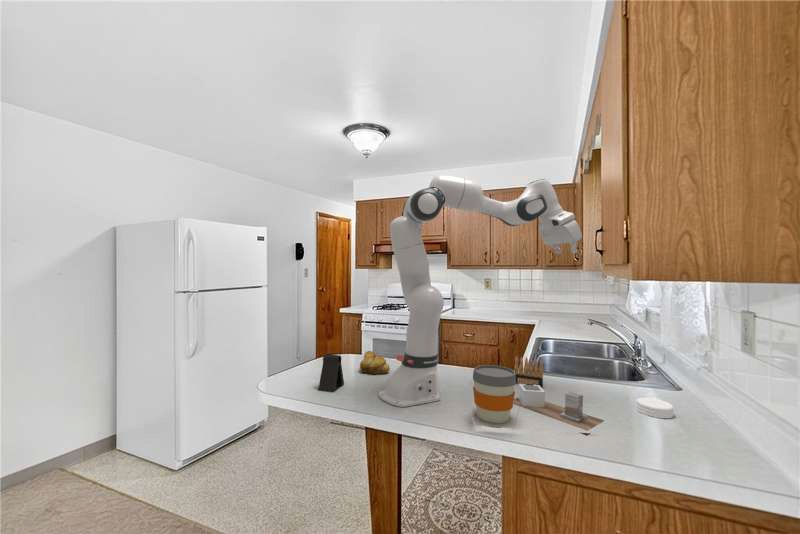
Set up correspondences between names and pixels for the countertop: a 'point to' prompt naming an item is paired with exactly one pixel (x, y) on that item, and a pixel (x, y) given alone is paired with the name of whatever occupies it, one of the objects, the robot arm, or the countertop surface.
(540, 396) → the white block
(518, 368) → the ammunition clip
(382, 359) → the bread roll
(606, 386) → the countertop surface
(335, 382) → the black tent stand
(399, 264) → the robot arm
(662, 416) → the coaster
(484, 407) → the reusable coffee cup
